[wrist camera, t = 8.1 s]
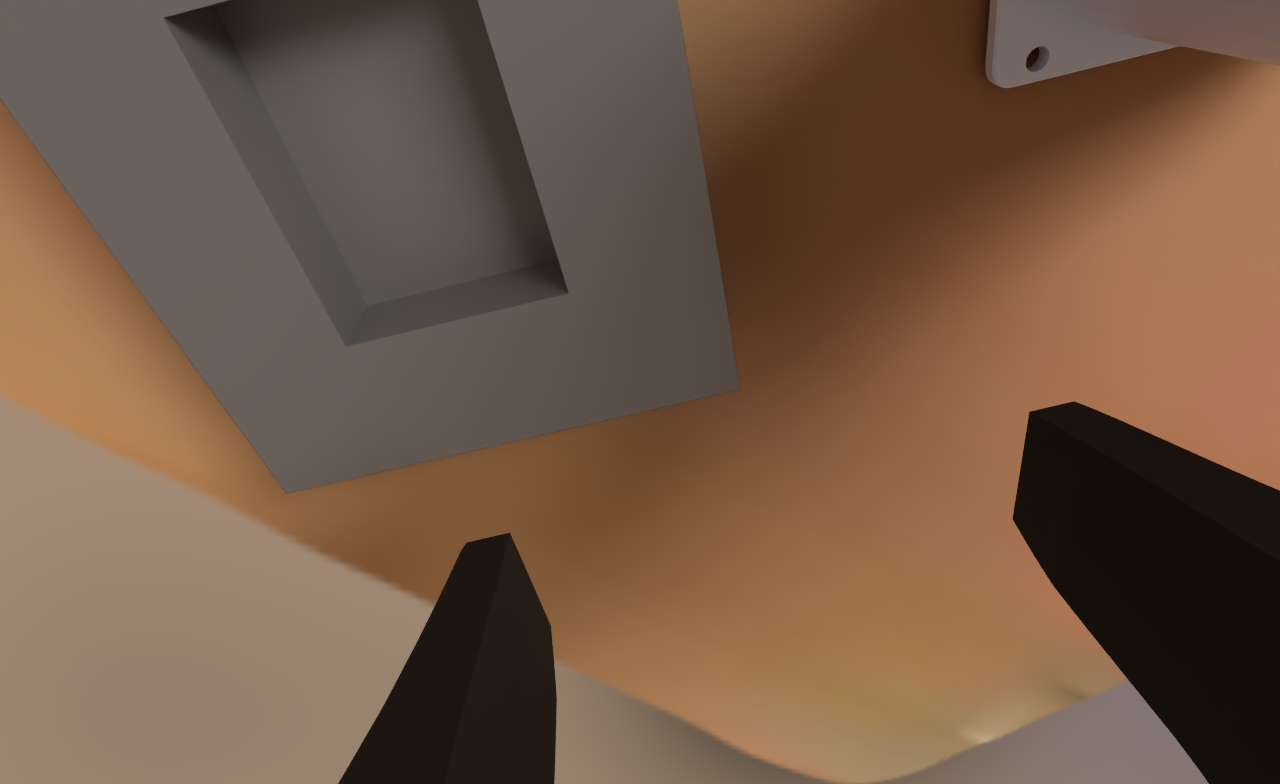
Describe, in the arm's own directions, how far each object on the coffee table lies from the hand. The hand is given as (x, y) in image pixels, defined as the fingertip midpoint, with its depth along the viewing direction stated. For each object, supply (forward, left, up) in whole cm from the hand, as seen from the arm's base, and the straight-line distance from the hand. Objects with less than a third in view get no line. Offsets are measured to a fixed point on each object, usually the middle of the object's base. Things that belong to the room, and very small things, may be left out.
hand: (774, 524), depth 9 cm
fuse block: (+5, -4, -10) cm, 12 cm away
